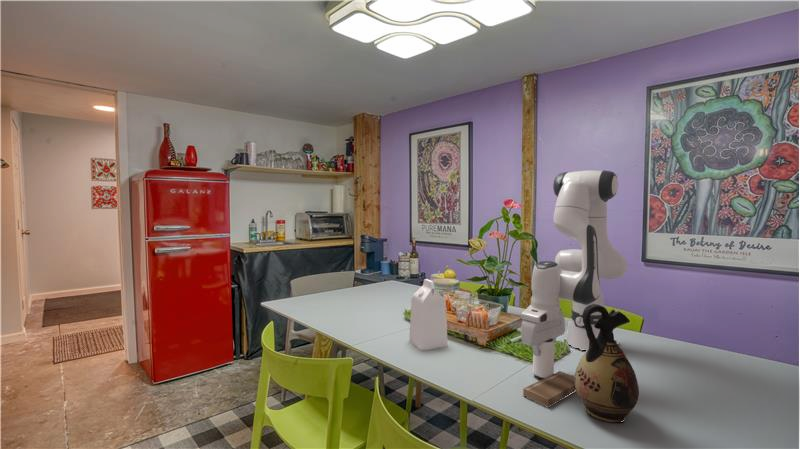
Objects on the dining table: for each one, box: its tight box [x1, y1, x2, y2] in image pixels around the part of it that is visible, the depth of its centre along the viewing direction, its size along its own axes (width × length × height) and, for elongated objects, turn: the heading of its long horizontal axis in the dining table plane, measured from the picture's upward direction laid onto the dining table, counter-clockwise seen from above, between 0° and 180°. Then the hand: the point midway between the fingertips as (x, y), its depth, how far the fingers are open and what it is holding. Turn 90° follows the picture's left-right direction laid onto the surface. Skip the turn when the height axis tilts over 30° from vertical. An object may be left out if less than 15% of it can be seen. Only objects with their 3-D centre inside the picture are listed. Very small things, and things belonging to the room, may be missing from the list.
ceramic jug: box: [574, 304, 640, 423], centre depth 103 cm, size 17×15×30 cm
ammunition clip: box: [463, 312, 490, 344], centre depth 155 cm, size 11×2×12 cm, turn 55°
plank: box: [522, 370, 576, 408], centre depth 116 cm, size 20×8×2 cm, turn 127°
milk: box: [408, 278, 448, 351], centre depth 154 cm, size 12×12×26 cm
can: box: [532, 339, 555, 379], centre depth 125 cm, size 6×6×12 cm
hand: (543, 352), depth 125 cm, fingers closed on can, 6 cm apart
